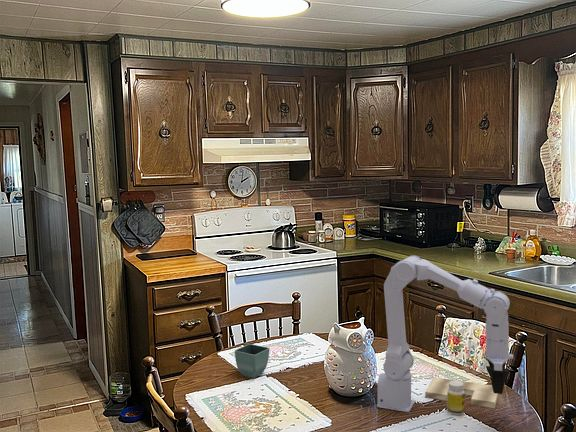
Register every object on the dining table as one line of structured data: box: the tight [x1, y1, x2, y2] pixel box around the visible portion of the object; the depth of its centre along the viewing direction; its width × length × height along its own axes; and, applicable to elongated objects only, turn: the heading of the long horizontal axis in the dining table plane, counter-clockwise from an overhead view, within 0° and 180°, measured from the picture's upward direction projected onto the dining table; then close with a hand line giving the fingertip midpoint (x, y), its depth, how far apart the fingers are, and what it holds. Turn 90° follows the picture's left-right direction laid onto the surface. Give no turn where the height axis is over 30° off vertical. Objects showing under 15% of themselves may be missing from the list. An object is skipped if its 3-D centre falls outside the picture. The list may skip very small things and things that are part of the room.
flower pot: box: [233, 343, 270, 379], centre depth 199 cm, size 9×9×9 cm
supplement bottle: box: [446, 380, 466, 416], centre depth 168 cm, size 5×5×8 cm
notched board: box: [424, 376, 500, 409], centre depth 180 cm, size 20×13×2 cm, turn 65°
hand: (497, 387), depth 159 cm, fingers open, 7 cm apart
